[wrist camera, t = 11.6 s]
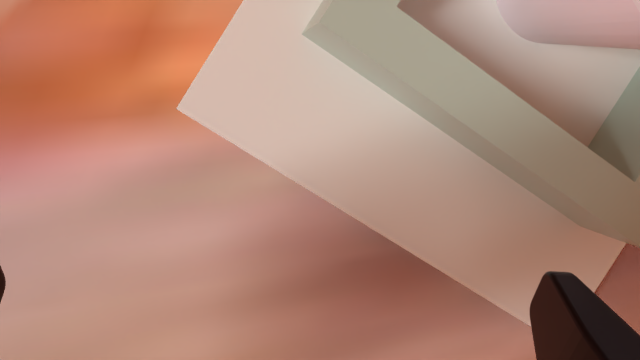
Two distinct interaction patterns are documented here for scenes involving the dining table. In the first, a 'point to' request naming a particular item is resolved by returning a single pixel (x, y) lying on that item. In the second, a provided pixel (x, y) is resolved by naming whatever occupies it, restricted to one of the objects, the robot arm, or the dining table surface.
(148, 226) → the dining table surface
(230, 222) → the dining table surface
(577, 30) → the smoothie
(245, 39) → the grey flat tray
